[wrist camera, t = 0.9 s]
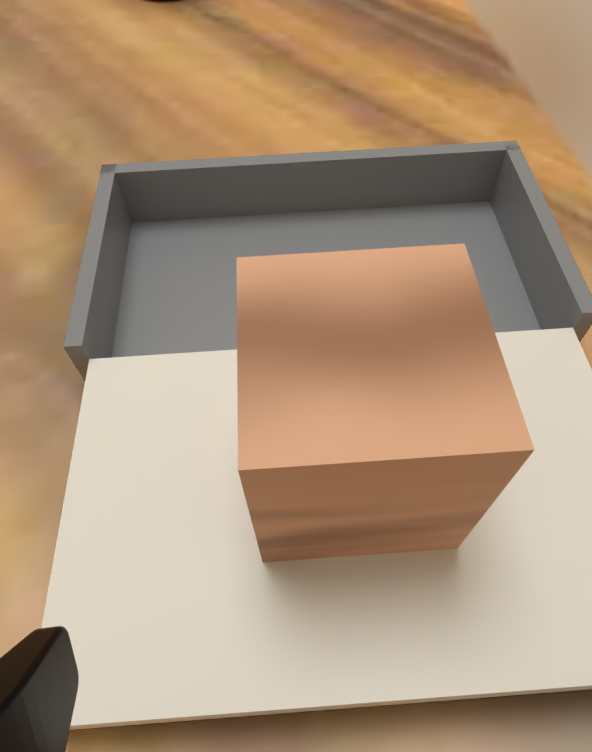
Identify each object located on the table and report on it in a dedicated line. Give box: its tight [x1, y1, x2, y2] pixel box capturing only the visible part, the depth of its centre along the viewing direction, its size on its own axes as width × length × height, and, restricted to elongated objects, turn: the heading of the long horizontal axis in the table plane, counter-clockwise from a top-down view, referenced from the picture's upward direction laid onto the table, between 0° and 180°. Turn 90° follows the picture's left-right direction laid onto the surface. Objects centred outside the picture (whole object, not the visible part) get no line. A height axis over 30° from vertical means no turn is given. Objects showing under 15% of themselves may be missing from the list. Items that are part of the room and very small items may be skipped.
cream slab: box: [42, 328, 592, 730], centre depth 22 cm, size 14×22×3 cm, turn 94°
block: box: [237, 243, 534, 562], centre depth 18 cm, size 7×7×8 cm
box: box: [63, 141, 592, 380], centre depth 29 cm, size 13×24×4 cm, turn 94°
